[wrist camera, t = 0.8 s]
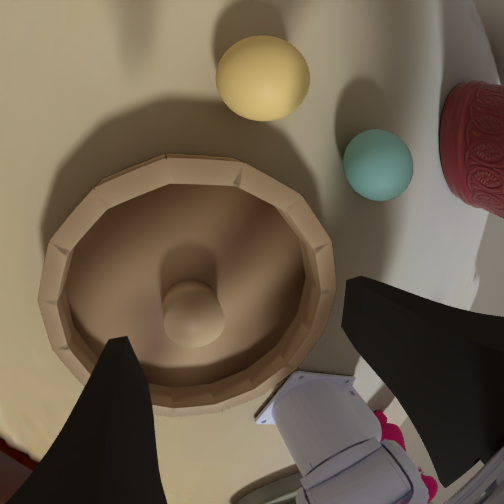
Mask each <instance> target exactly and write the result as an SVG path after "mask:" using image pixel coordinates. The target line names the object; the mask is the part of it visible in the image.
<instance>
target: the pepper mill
mask: <svg viewBox="0 0 504 504" xmlns="http://www.w3.org/2000/svg"><path fill="white" fill-rule="evenodd" d="M373 413H374V414H375V416H376V417H377V418H378V420H379V422H380V425H381V430H382V436H381V441H383V440H384V439H387V440H393V441H395V442H397V443H398V444H399V445H400V446H401V447H402V448H403V449H404V450H405V452H406V449H405V444H404V438H403V435H402V432H401V430H400V429H399V427H398V426H397V425H395V424H390V423H386V422H387V417H386V416H385V415H384V414H383V412H382V411H376V412H373ZM381 441H380V442H381ZM420 468H421V467H417V469H418V471H419V473H420V475H421V479H422V481H423V482H424V484H425V485H426V487H427V488H428V494H429V499H428V502H427V504H434V503H433V502H430V501H431V500H432V499H433V498H434V496H435V495H436V492H437V488H438V486H437V482H436V480H435V479H434V478H433V477H431V476H425V475H423V473H424V471H422V470H421V469H420Z"/></svg>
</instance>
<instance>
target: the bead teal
mask: <svg viewBox="0 0 504 504" xmlns="http://www.w3.org/2000/svg"><path fill="white" fill-rule="evenodd" d="M343 167H344V173H345V176H346V178H347V180H348V182H349V184H350V185H351V186H352V188H353V189H354V190H355V191H356V192H357V193H359V194H360V195H362V196H363V197H365V198H367V199H370V200H374V201H387V200H390V199H393V198H395V197H397V196H399V195H400V194H402V193H403V192H404V191H405V190H406V188H407V187H408V185H409V184H410V181H411V179H412V175H413V159H412V156H411V153H410V151H409V149H408V147H407V146H406V144H405V143H404V142H403V141H402V140H401V139H400V138H399V137H398V136H396V135H395V134H393V133H391V132H388V131H385V130H381V129H371V130H367V131H364V132H362V133H360V134H358V135H357V136H355V137H354V138H353V139H352V140H351V141H350V143H349V144H348V146H347V148H346V150H345V153H344V158H343Z"/></svg>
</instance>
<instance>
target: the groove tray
mask: <svg viewBox="0 0 504 504" xmlns="http://www.w3.org/2000/svg"><path fill="white" fill-rule="evenodd" d="M336 290H337V284H336V274H335V265H334V257H333V248H332V241H331V239H330V238H329V236H328V234H327V233H326V231H325V230H324V228H323V227H322V225H321V224H320V222H319V220H318V219H317V217H316V216H315V214H314V213H313V211H312V210H311V208H310V207H309V205H308V204H307V202H306V201H305V199H304V198H303V196H302V195H301V194H299V193H297V192H296V191H294V190H292V189H291V188H289V187H287V186H285V185H284V184H282V183H280V182H278V181H277V180H275V179H273V178H271V177H270V176H268V175H266V174H264V173H262V172H261V171H259V170H257V169H255V168H253V167H252V166H250V165H248V164H246V163H244V162H242V161H239V160H237V159H234V158H232V157H219V156H207V155H199V154H163V155H160V156H158V157H155V158H152V159H150V160H147V161H144V162H141V163H138V164H135V165H132V166H130V167H128V168H126V169H124V170H122V171H120V172H118V173H116V174H113V175H111V176H109V177H107V178H104V179H102V180H101V181H100V182H99V183H98V184H97V185H96V186H95V187H94V188H93V189H92V190H91V192H90V193H89V194H88V195H87V196H86V197H85V198H84V199H83V200H82V202H81V203H80V204H79V205H78V206H77V207H76V209H75V210H74V211H73V212H72V213H71V214H70V216H69V217H68V218H67V219H66V221H65V222H64V223H63V224H62V225H61V227H60V228H59V229H58V230H57V232H56V233H55V234H54V236H53V237H52V238H51V240H50V241H49V243H48V248H47V252H46V256H45V261H44V266H43V271H42V276H41V281H40V287H39V293H38V303H39V307H40V311H41V315H42V318H43V322H44V325H45V329H46V332H47V335H48V338H49V341H50V344H51V347H52V349H53V351H54V352H55V354H56V355H57V356H58V357H59V359H60V360H61V361H62V362H63V363H64V365H65V366H66V367H67V368H68V369H69V370H70V371H71V373H72V374H73V375H74V376H75V377H76V378H77V379H78V380H79V381H80V383H81V384H82V385H83V386H85V385H86V383H87V381H88V379H89V377H90V375H91V373H92V371H93V369H94V367H95V365H96V363H97V361H98V359H99V357H100V355H101V353H102V351H103V349H104V347H105V345H106V343H107V341H108V340H109V339H112V338H118V337H123V336H128V339H129V341H130V343H131V345H132V348H133V350H134V352H135V354H136V357H137V359H138V361H139V363H140V365H141V367H142V370H143V372H144V374H145V376H146V378H147V380H148V385H149V390H150V395H151V401H152V407H153V414H154V415H160V416H166V417H182V416H192V415H202V414H210V413H217V412H221V411H223V410H226V409H229V408H231V407H234V406H237V405H239V404H242V403H244V402H247V401H249V400H252V399H254V398H257V397H259V396H261V395H262V394H264V393H265V392H267V391H268V390H269V389H271V388H272V387H273V386H275V385H276V384H278V383H279V382H280V381H282V380H283V379H284V378H286V377H287V376H288V375H289V374H291V373H292V372H293V371H295V370H296V369H297V368H298V367H299V365H300V364H301V363H302V361H303V360H304V359H305V357H306V356H307V355H308V353H309V352H310V351H311V349H312V348H313V347H314V345H315V344H316V342H317V341H318V340H319V338H320V337H321V336H322V334H323V332H324V330H325V327H326V324H327V320H328V317H329V314H330V311H331V307H332V304H333V301H334V297H335V294H336Z"/></svg>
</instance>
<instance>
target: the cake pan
mask: <svg viewBox="0 0 504 504" xmlns="http://www.w3.org/2000/svg"><path fill="white" fill-rule="evenodd" d="M301 478H303V476H302V474H301V473H300V472H298V473H296V474H293V475H290V476H287V477H284V478H282V479H279V480H277V481H274V482H272V483H270V484H267V485H265V486H263V487H261V488H259V489H256V490H254V491H253V492H251V493H249V494H247V495H246V496H244V497H243V498H242V499H240V500H239V502H238V503H237V504H296V495H297V491H298V489H299V488H301V487H303V485H302V483H301V481H300V479H301Z"/></svg>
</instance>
